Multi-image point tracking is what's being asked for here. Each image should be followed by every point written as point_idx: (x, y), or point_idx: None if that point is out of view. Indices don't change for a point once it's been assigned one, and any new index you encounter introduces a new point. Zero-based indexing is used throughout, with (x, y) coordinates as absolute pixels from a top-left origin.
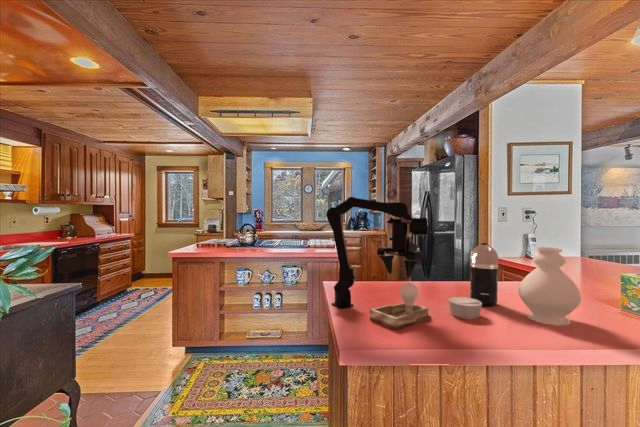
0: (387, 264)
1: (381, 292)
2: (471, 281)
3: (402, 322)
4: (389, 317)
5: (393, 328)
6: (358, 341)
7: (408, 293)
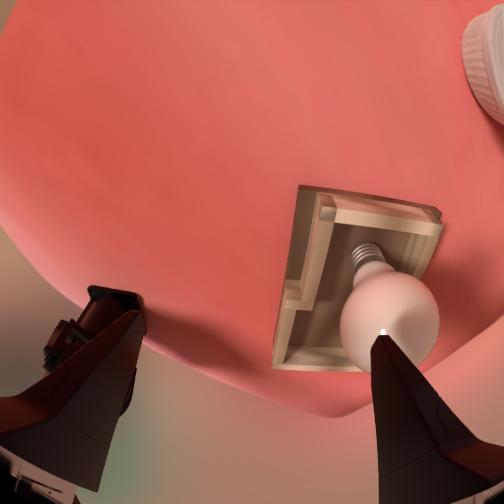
0: (115, 418)
1: (34, 66)
2: None
3: None
4: (356, 369)
5: None
6: (336, 404)
7: None
